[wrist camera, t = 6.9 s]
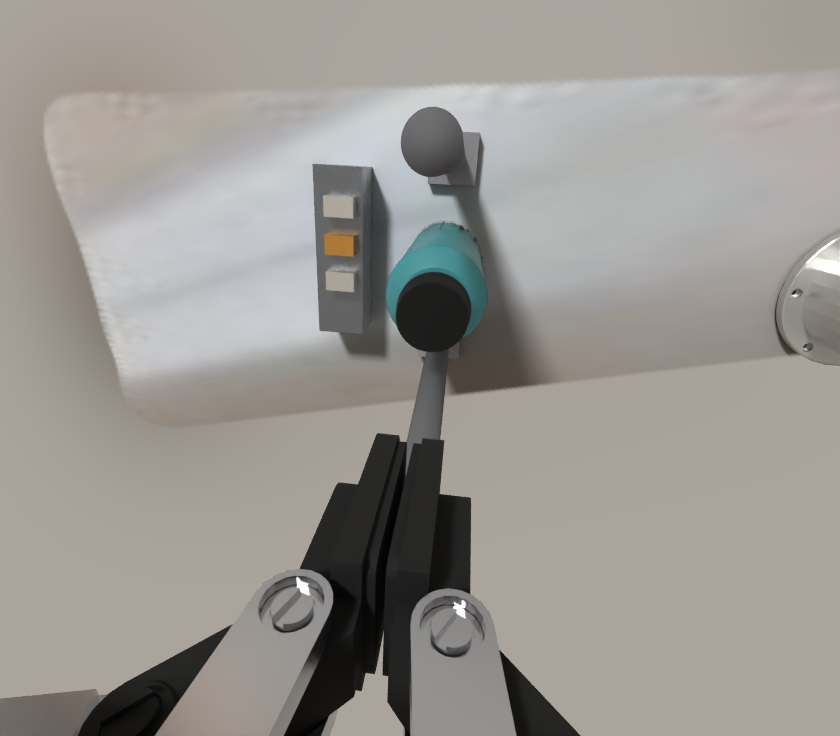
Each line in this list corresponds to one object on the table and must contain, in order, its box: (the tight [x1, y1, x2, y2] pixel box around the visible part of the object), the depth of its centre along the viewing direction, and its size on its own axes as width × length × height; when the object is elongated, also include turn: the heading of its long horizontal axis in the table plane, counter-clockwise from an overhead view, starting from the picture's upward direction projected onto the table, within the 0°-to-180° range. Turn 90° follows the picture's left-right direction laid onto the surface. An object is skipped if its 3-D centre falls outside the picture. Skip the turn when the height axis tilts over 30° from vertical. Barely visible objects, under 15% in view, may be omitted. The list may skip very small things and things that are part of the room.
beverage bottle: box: [386, 221, 488, 352], centre depth 32 cm, size 6×7×20 cm
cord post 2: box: [406, 341, 460, 474], centre depth 33 cm, size 4×4×26 cm
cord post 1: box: [401, 107, 480, 186], centre depth 26 cm, size 4×4×26 cm
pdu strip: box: [313, 164, 372, 334], centre depth 39 cm, size 4×14×5 cm, turn 177°
